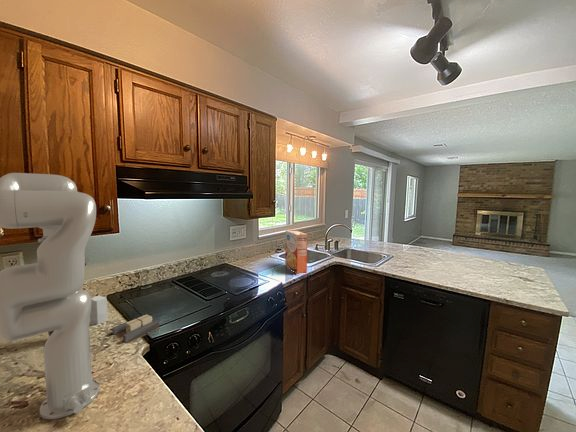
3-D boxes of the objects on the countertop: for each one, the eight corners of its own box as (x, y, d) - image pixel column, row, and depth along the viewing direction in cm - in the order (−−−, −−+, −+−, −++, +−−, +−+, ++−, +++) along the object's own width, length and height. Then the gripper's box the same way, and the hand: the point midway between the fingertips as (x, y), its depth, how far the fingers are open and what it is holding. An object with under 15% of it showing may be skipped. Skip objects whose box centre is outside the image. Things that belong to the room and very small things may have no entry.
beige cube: (152, 325, 106) (152, 316, 105) (143, 330, 102) (142, 320, 102) (147, 323, 108) (147, 314, 107) (138, 327, 104) (137, 318, 104)
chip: (141, 330, 102) (141, 321, 101) (131, 335, 98) (130, 325, 98) (136, 327, 104) (136, 318, 103) (126, 332, 100) (125, 322, 100)
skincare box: (108, 323, 110) (107, 297, 109) (97, 327, 106) (96, 301, 105) (100, 320, 112) (99, 295, 111) (89, 324, 109) (88, 298, 108)
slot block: (160, 331, 104) (160, 322, 104) (127, 347, 93) (126, 337, 93) (143, 322, 111) (143, 314, 110) (111, 336, 100) (110, 327, 99)
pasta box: (285, 266, 200) (285, 230, 197) (294, 265, 203) (294, 229, 200) (296, 275, 179) (297, 234, 176) (306, 274, 182) (307, 234, 179)
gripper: (28, 244, 81) (32, 294, 82) (90, 237, 96) (93, 279, 97) (21, 242, 85) (25, 290, 86) (82, 235, 99) (84, 276, 101)
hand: (61, 284), depth 92 cm, fingers open, 9 cm apart
